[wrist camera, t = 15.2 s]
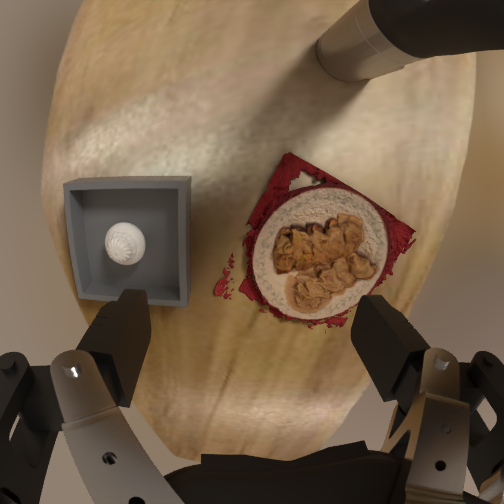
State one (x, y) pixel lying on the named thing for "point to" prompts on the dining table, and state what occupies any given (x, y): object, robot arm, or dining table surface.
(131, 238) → the white ribbed rounded piece
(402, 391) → the robot arm
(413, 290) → the dining table surface
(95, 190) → the serving bin
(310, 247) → the plate with food
